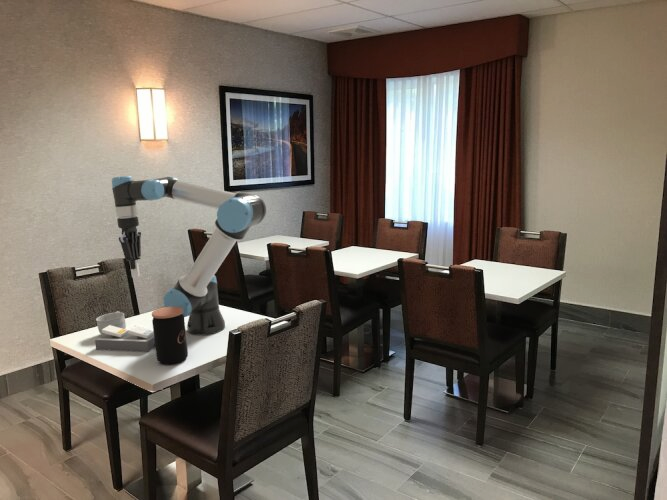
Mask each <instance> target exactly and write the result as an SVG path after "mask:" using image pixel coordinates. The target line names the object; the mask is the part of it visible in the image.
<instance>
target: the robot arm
mask: <svg viewBox="0 0 667 500" xmlns="http://www.w3.org/2000/svg"><path fill="white" fill-rule="evenodd" d="M111 187H112V188H111V190H112V195H113V199H114V206H115V213H116V217H117V219H116V221H117V227H118V228H119V229H121V237H120V236H119V237H118V241H119V243H120V245H121V249H122V252H123V256H124V259H125V261H126V262H129V267H130V273H131V278H139V277H141V272H140V264H139V260H141V258H142V257H141V256H142V249H141V247H142V246H141V238H142V237H141V236H142V232H141V231H138V229H137V227H138V226H140V223H139V217H138V209H137V204H136V203H137V201H157V200H161V199H162V198H167V199H168V198H169V199H172V200H177V201H182V202H186V203H190V204H195V205H198V206H202V207H205V208H206V207H207V208H209V209H215V210H217V212H216V217H217V218H216V220H215V221H214V225H215V229H214V230H213V232H212V234H211V236H210V237H209V239H208V241H207V242H206V243H205V245H204V246H203V248H202V250H201V252H200V253H199V255H198V256H197V258H196V260H195V261H194V262H193V264H192V266H191V267H190V268H189V270H188V272H187V273H186V274H185V275H184V274H183V275H181V276H180V277H179V279H178V280H177V282H176V283H175V285H174V287H173V288H170V289H168V290H167V291H166V292H165V293H164V295H163V299H162V301H163V305H164V308H165V307H180V308H182V309H183V313H182V314H183V315H184V318H187V317H188V320H187V325H186V328H187V332H188V333H189V334H190V335H197V336H198V335H199V336H200V335H201V336H202V335H203V336H205V335H210V334H211V335H212V334H215V333H218V332H221V331H222V330H224V329H225V328H226V324H225V323H226V321H225V319H224V317H223V314H222V312H221V310H220V306H219V305H220V304H219V291H218V281H217V276H216V275H215V274H216V273H217V272H218V269H219V268H220V267H221V265H222V263H224V261H225V259H226V257H227V256H228V255H229V253H230V252H231V250H232V248H233V247H234V246H235V244H236V243H237V241H238V242H239V241H242V240H243V239H244V238H245V236H246V234H247V233H248V232H249V230H250V229H251V228H252V227H254V226H256V225H258V224H259V225H260V223H261V222H262V221H263V220H264V219H265V217H266V214H267V206H266V204H265V202H264V200H263V199H262V198H261V197H260V196H258V195H256V194H252V193H248V192H243V191H237V192H230V191H226V190H222V189H217V188H212V187H209V186H204V185H200V184H195V183H191V182H187V181H182V180H179V179H178V178H176V177H173V176H164V177H160V178H159V177H158V178H152V179H143V180H134V179H133V177H132V176H131V175H123V176H115V177H112V179H111Z"/></svg>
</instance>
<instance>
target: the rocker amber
mask: <svg viewBox="0 0 667 500" xmlns="http://www.w3.org/2000/svg"><path fill="white" fill-rule="evenodd" d="M128 330H129V329H126V328H125V329H122V328H119V327H115V326H111V325H109V326H107V327H105V328H104V329H102V333H106V334H109V335H113V336H117V337H120V338H121V337H122V336H124V335H125V334H127V333H128Z"/></svg>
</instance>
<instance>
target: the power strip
mask: <svg viewBox="0 0 667 500" xmlns="http://www.w3.org/2000/svg"><path fill="white" fill-rule="evenodd" d="M94 343H95V344H94V345H95V350H96V351H112V352H113V351H114V352H115V351H117V352H118V351H119V352H137V353H138V352H139V353H141V352H142V353H149V352H151V351H152V350H154V349H156V348H155V340H154V334H153V335H151V336H150V337H148V338H143V337H140V336H136V335H133V334H129V333H127V334H125V335H124V336H122V337H121V338H120V337H117V336H113V335H109V334H104V335H101V336H99V337H97V338H96V339H94Z"/></svg>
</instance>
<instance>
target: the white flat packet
mask: <svg viewBox="0 0 667 500" xmlns="http://www.w3.org/2000/svg"><path fill="white" fill-rule="evenodd" d="M127 330H128V333H129V334H133V335H136V336H140V337H143V338H148V337H150V336H151V335H153V334H154V331H153V330H152V329H150V328H149V329H148V328H144V327H141V326H138V325H133V326H132V327H130V328H128V329H127Z"/></svg>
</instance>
